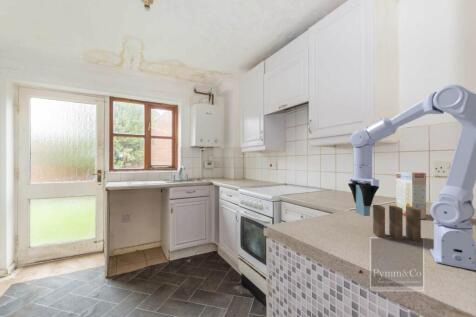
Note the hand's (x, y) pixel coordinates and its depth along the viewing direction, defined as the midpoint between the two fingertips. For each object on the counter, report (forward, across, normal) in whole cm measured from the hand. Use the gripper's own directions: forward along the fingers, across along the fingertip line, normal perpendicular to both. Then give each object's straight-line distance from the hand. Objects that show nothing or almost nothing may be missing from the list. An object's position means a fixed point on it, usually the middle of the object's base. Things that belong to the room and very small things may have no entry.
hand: (362, 204), depth 76 cm
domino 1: (+3, 0, 0) cm, 3 cm away
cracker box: (+10, +28, -40) cm, 49 cm away
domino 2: (+10, -1, -5) cm, 11 cm away
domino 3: (+10, -3, -10) cm, 14 cm away
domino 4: (+10, -4, -14) cm, 18 cm away
